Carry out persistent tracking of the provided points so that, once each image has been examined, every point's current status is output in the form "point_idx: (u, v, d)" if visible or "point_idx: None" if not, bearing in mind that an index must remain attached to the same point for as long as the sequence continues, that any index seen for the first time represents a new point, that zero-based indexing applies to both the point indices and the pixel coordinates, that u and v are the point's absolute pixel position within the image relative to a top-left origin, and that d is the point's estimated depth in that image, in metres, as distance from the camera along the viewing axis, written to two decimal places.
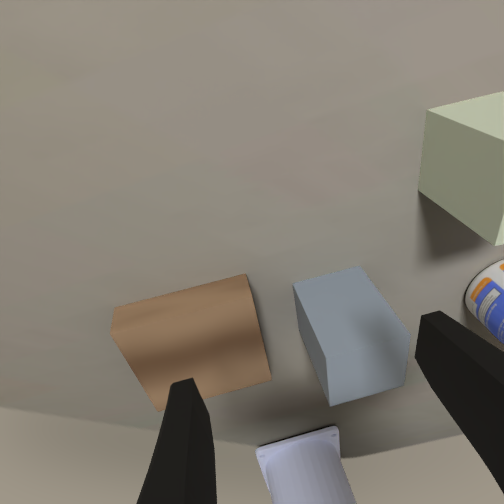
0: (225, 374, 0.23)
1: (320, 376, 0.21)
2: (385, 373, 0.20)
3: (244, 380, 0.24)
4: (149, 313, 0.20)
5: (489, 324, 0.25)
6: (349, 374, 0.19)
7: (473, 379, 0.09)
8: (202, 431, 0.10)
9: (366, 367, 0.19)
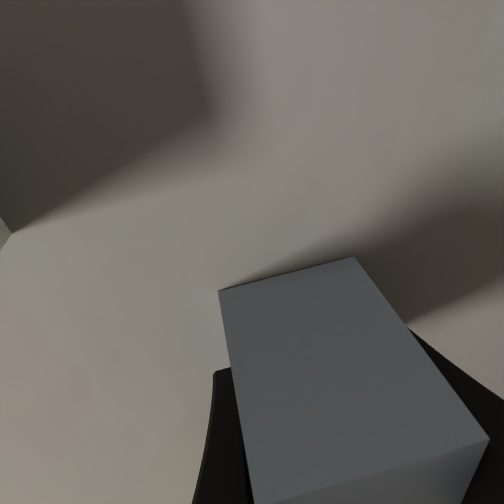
0: None
1: None
2: (397, 491, 0.07)
3: None
4: None
5: None
6: None
7: None
8: None
9: None
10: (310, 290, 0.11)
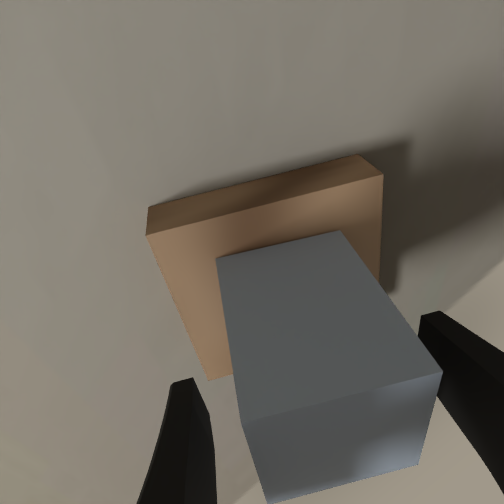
0: None
1: None
2: (365, 420, 0.08)
3: (361, 225, 0.13)
4: None
5: None
6: (334, 468, 0.10)
7: (473, 379, 0.09)
8: (202, 431, 0.10)
9: (323, 454, 0.09)
10: (298, 258, 0.12)
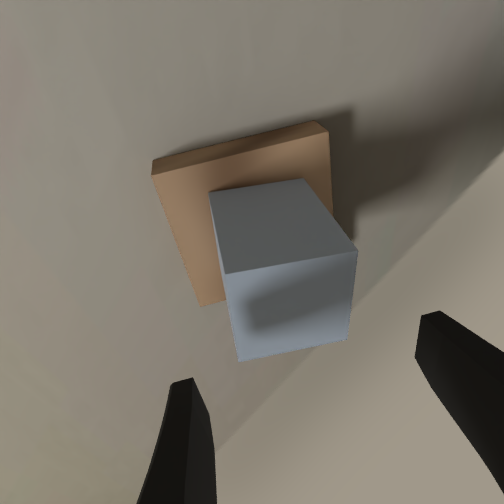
0: None
1: None
2: (308, 286, 0.12)
3: (315, 173, 0.17)
4: None
5: None
6: (286, 331, 0.14)
7: (473, 379, 0.09)
8: (202, 431, 0.10)
9: (279, 315, 0.13)
10: (270, 193, 0.16)
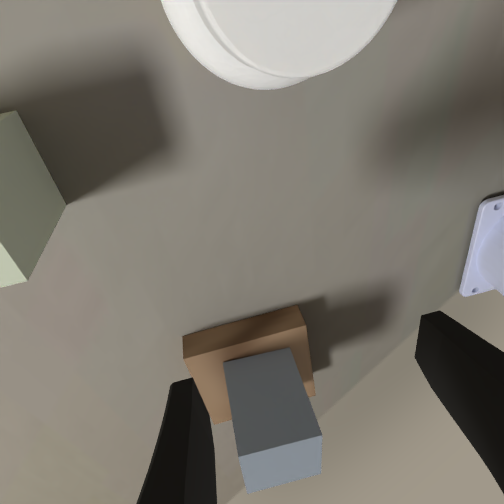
0: None
1: None
2: (291, 454, 0.19)
3: (297, 346, 0.24)
4: None
5: None
6: (279, 475, 0.20)
7: (473, 379, 0.09)
8: (202, 431, 0.10)
9: (273, 469, 0.20)
10: (266, 365, 0.23)
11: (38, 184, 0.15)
